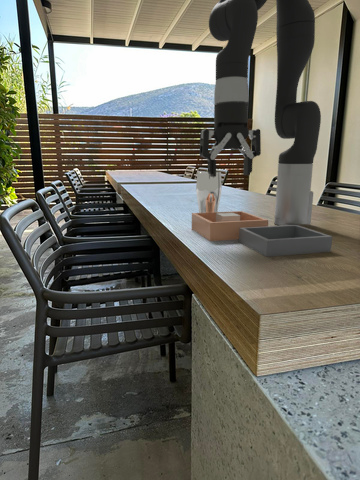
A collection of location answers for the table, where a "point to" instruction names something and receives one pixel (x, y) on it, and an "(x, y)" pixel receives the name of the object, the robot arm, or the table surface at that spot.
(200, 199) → the silver metal tumbler
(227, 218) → the off-white cube block
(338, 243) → the table surface
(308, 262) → the table surface
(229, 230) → the terracotta tray
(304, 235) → the charcoal bin
